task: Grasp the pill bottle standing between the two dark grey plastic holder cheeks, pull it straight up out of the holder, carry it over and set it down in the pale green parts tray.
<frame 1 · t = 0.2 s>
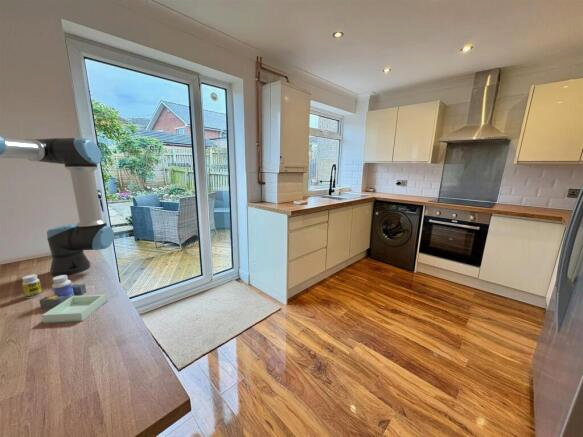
holder: (65, 299, 93), on the worktop
tray: (78, 311, 85), on the worktop
pill bottle: (65, 300, 93), on the worktop
supplement bottle: (34, 295, 96), on the worktop
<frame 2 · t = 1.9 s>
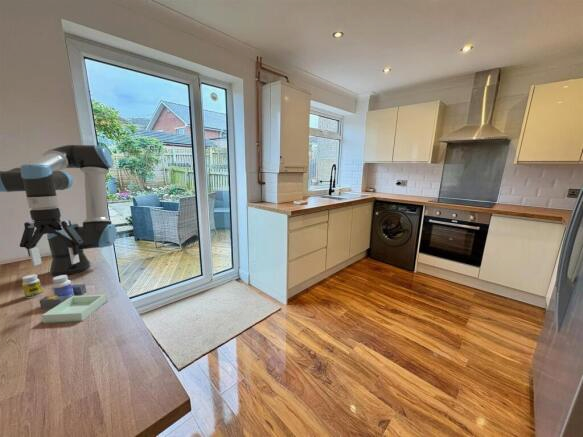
hand: (56, 263, 89), 15 cm above the worktop, fingers open, 13 cm apart
nothing on the worktop moved.
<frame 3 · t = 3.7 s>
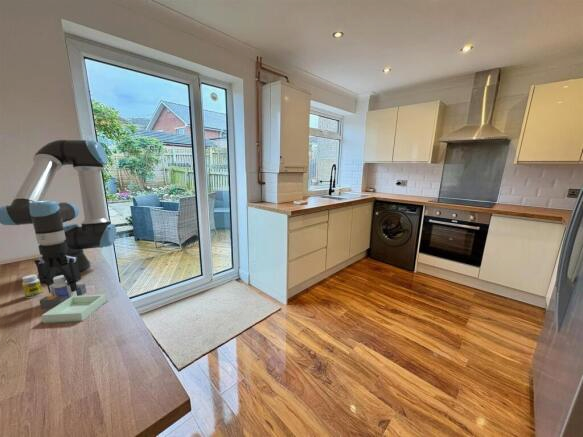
hand: (65, 299, 93), 0 cm above the worktop, fingers closed on pill bottle, 5 cm apart
pill bottle: (65, 300, 93), on the worktop, touching gripper
everything else where it was.
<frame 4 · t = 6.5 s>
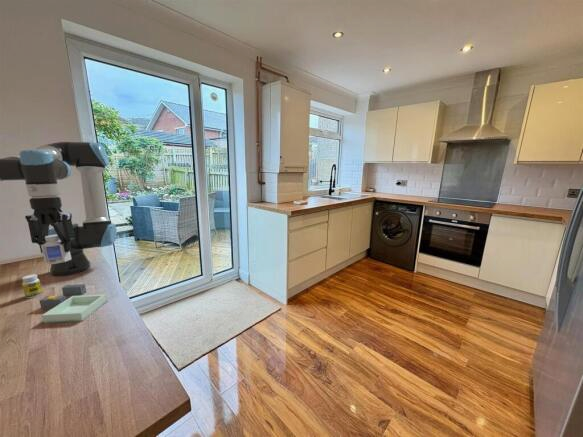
hand: (58, 260, 86), 18 cm above the worktop, fingers closed on pill bottle, 5 cm apart
pill bottle: (58, 262, 86), point 17 cm above the worktop, touching gripper
everything else where it was.
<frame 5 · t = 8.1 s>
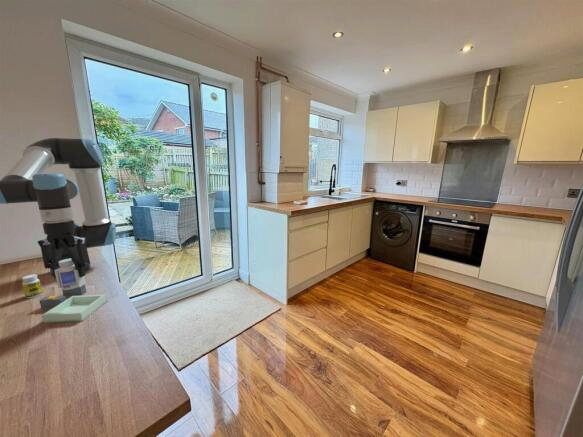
hand: (72, 285, 83), 10 cm above the worktop, fingers closed on pill bottle, 5 cm apart
pill bottle: (72, 287, 83), point 10 cm above the worktop, touching gripper
everything else where it was.
when the fingers open (3 cm above the worktop, at t = 9.4 s): pill bottle drops 2 cm, resting on tray.
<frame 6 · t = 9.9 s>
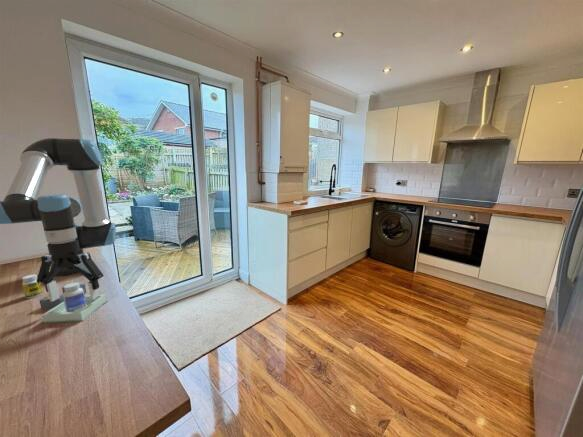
hand: (75, 298, 84), 5 cm above the worktop, fingers open, 13 cm apart
pill bottle: (76, 310, 85), resting on tray
everything else where it was.
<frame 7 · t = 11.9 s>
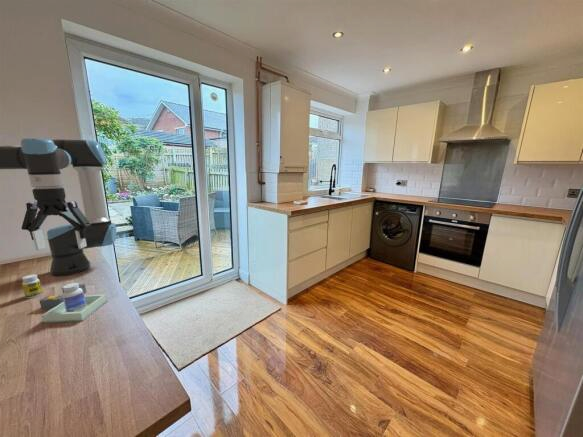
hand: (62, 248, 83), 23 cm above the worktop, fingers open, 13 cm apart
nothing on the worktop moved.
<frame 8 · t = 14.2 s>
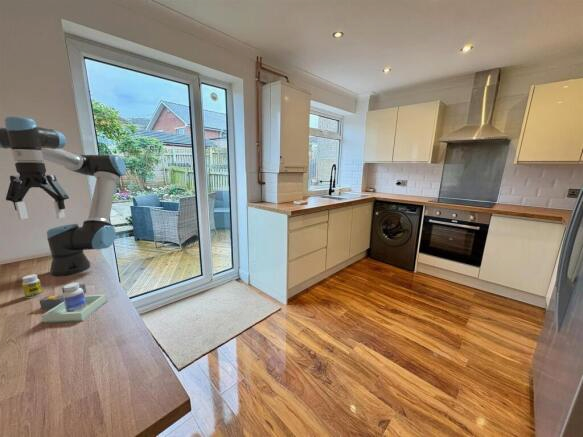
hand: (42, 218, 92), 32 cm above the worktop, fingers open, 13 cm apart
nothing on the worktop moved.
at the end: pill bottle inside the target area on the tray (0.3 cm from its centre), point 0.4 cm above the tray's base; the gripper is holding nothing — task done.
